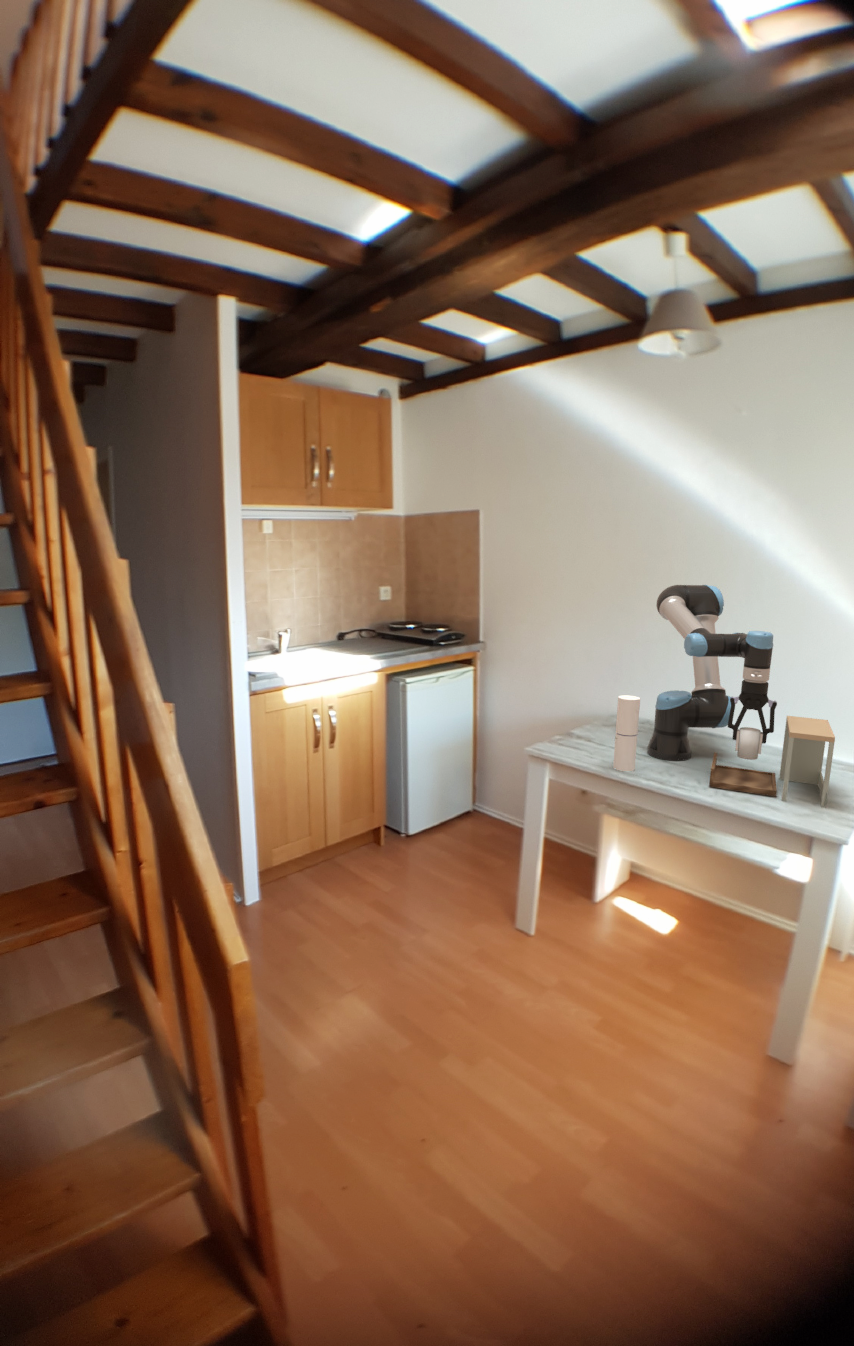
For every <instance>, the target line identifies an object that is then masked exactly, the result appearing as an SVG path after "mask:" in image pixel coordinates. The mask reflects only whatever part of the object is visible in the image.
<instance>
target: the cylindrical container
mask: <svg viewBox="0 0 854 1346" xmlns="http://www.w3.org/2000/svg"><path fill="white" fill-rule="evenodd" d="M640 707H641V698H640V696H635V695H628V694H627V695H626V694H624V695H618V697H617V710H616V721H615V722H616V725H615V735H614V736H615V738H614V752H613V762H612V763H613V766H612V767H614V768H616V769H617V770H616V771H618V770H621V771H620V772H622V771H632V772H634V771H635V770H636V759H637V746H638V745H637V743H638V730H639V721H640V720H639V718H640ZM614 768H613V769H614ZM633 770H634V771H633Z"/></svg>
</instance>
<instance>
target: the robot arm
mask: <svg viewBox="0 0 854 1346" xmlns="http://www.w3.org/2000/svg"><path fill="white" fill-rule="evenodd" d="M724 607H725V600H724V597H723V593H722V592H721V590H720V589H719V588H718V587H717V586H716V585H715V586H714V585H708V584H701V585H699V584H698V585H697V584H695V585H694V584H675V585H671V586H668V587H667V588H665V589H663V590H662V592H660V593H659V595H658V597H657V599H656V609H657V612H658V615H660V616H661V617H662V618H663V619H664V620H666V621H669V622H670V624H671V625H672V626H673V627H674V628H675V630H676V631H677V632H678V633H679V634H680V636H681V637H682V638H683V640H684V642H683V648H684V652H685V654H686V655H687V656H688V657H689V656H690V657H692V665H693V675H694V688H693V690H692V691H690V692H689V691H687V690H668V691H663V692H661V693H659V694H658V695H657V697H656V704H655V705H654V706H655V713H654V725H653V727H654V728H653V734H652V736H651V738H650V741H649V742H648V745H647V748H646V749H647V750H646V753H647V754H648V755H649V756H650V757H653V758H656V759H659V760H665V761H672V762H673V761H674V762H675V761H676V762H677V761H687V760H689V759H691V757H692V749H691V745H690V741H689V737H688V733H689V732H688V731H689V728H693V729H694V728H699V729H700V728H701V729H702V728H703V729H704V728H707V729H709V728H710V729H716V728H725V727H727V728H729V729H732V740H733V741H735V750H734V751H736V752H738V744H739V734H740V725H741V723H742V721H743V719H744V717H745V714H746V712H747V711H749V710H753V711H757V713H758V716H759V721H760V727H761V730H762V731H761V732H760V740H759V749H758V755H761V754H762V747H763V744H766V743H767V738H768V735H769V734H773V733H774V732H775V714H776V713H775V710H776V708H777V706H778V702H777V701H776V700H772V699H769V697H768V691H769V682H768V681H769V680H770V676H771V675H770V673H771V665H772V656H773V655H772V654H773V649H774V634H773V633H772V632H771V631H764V630H750V631H748V632H747V633H744V632H733V633H716V623H717V621H718V620H719V617H720V616H721V615H722V614H723V611H724ZM720 657H721V658H722V657H723V658H742V659H743V660H744V661H743V670H742V679H743V680H742V681H741V689H740V694H739V695H738V696H730V695H727V691H726V689H725V688H724V687H722V686H721V679H720V667H719V658H720ZM739 701H740V703H741V704H742V708H741V710H740V713H739V715H738V716H737V719H736V721H735V723H734V724H733V721H734V717H735V710H736V704H738V702H739ZM767 703H768V707H769V708H770V709H769V725H768V726H769V727H768V728H767V725H766V721H765V716H764V711H763V707H765V705H767Z"/></svg>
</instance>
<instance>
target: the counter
mask: <svg viewBox="0 0 854 1346" xmlns="http://www.w3.org/2000/svg"><path fill="white" fill-rule="evenodd" d="M826 742H827V743H828V749H827V755H826V763H825V771H824V777H823V774H822V771H823V763H824V754H825V748H826ZM835 742H836V736H835V734H834V732H833V729H832V726H831V724H830V722H829V720H828V719H822V718H821V719H820V718H812V717H804V716H803V717H802V716H793V715H786V719H785V729H784V736H783V744H782V745H783V746H782V753H781V761H780V769H779V778H778V779H779V780H781V781H783V782H782V783H783V784H782V792H781V801H782V802H786V801H787V799H788V789H789V788H788V787H789V782H793V783H794V782H796V783H804V784H808V785H809V784H810V785H815V786H818V791H819V794H820V798H821V801H820V807H821V808H825V809H826V808H827V801H828V793H829V785H830V777H831V771H832V762H833V758H834V757H833V755H834V748H835Z"/></svg>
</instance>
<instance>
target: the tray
mask: <svg viewBox="0 0 854 1346" xmlns="http://www.w3.org/2000/svg"><path fill="white" fill-rule="evenodd" d="M717 760H718V752H713V757H712V761H711V766H710V776H709V784H708V785H709V786H708V787H710V788H717V789H718V788H719V789H724V790H729V791H737V792H742V793H748V794H749V793H750V794H756V795H762V796H769V797H777V792H778V790H777V789H778V788H777V777H776V773H775V772H769V771H764V770H763V771H762V770H755V769H748V768H741V767H734V766H727V765H719V764H717Z"/></svg>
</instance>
